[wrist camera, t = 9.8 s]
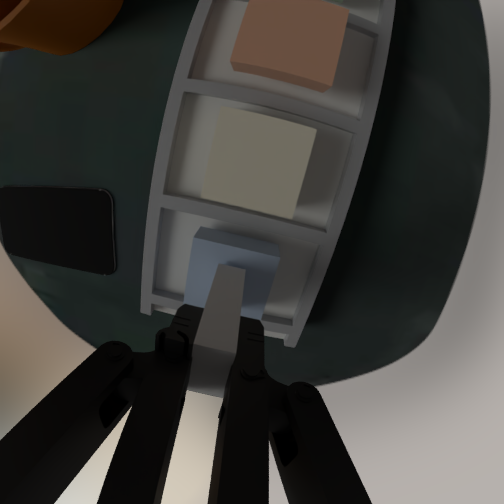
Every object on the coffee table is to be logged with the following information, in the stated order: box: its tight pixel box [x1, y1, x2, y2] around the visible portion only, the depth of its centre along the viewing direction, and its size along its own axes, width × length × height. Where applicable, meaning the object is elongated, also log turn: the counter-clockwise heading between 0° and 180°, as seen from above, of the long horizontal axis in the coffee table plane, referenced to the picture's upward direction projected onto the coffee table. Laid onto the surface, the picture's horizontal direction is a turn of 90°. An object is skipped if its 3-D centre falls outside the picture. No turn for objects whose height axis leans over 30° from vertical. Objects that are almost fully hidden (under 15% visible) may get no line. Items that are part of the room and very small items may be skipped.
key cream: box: [201, 106, 317, 219], centre depth 14 cm, size 5×5×2 cm
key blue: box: [183, 226, 280, 321], centre depth 17 cm, size 5×5×2 cm
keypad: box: [141, 0, 396, 347], centre depth 15 cm, size 31×12×3 cm, turn 166°
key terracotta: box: [230, 0, 349, 93], centre depth 11 cm, size 5×5×2 cm
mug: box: [0, 0, 124, 56], centre depth 8 cm, size 9×12×9 cm
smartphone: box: [0, 185, 116, 275], centre depth 20 cm, size 7×1×15 cm
